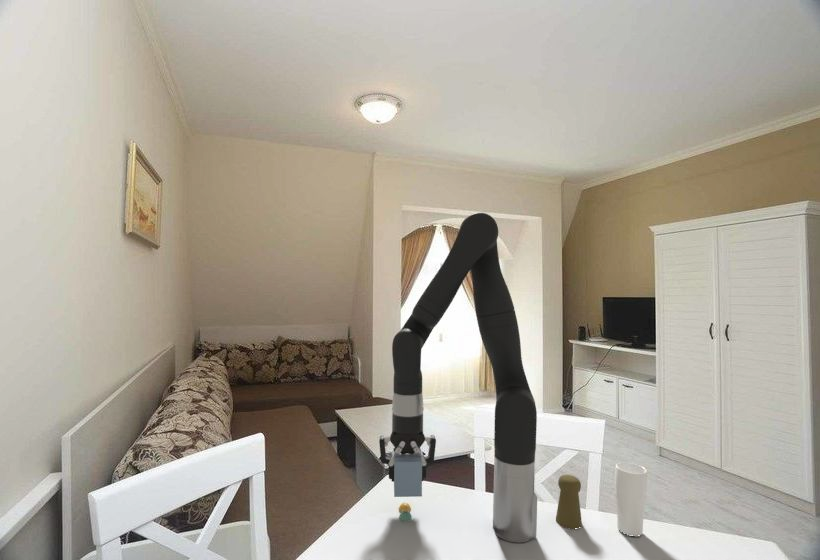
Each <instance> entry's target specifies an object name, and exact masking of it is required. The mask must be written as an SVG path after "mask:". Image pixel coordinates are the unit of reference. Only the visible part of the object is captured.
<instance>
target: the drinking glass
mask: <svg viewBox="0 0 820 560" xmlns="http://www.w3.org/2000/svg"><path fill="white" fill-rule="evenodd" d="M614 490H615V501H616V502H615V503H616V518H617V521H616V522H617V525H616V526H617V530H618V531H619V530H620V531H619V532H620V533H622V532H623V533H625V534H628V535H633V536H638V535H641V534H642V535H643V531H644V517H645V510H646V509H645V508H646V500H647V499H646V498H647V492H648V470H647V469H646V468H645V467H643V466H642V465H639V464H636V463H634V462H633V463H632V462H624V461H623V462H622V461H621V462H617V463H616V464H615V469H614ZM623 533H622V534H623ZM625 534H624V535H625ZM628 535H627V536H628ZM642 535H641V536H642Z"/></svg>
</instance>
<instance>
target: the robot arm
mask: <svg viewBox="0 0 820 560" xmlns="http://www.w3.org/2000/svg"><path fill="white" fill-rule="evenodd" d="M498 238H499V226H498V223H497V222H496V220H495V218H494V217H493V216H491V215H490V214H488V213H485V212H475V213H471V214H470V215H468V216H467V217H466V218H464V220H463V221H462V222H461V224H460V227H459V230H458V233H457V235H456V237H455V239H454V242H453V245H452V247H451V249H450V250H449V252H448V253H447V256H446V258H445V260H444V261H443V263H442V264H441V266H440V268H439V269H438V270H437V272H436V274H435V275H434V276H433V278H432V280H431V281H430V282H429V284H428V285H427V287H426V288H425V290H424V291H423V293H422V295H421V296H419V297H420V298H419V299H418V301H417V303H415V305H414V307H413V309H412V312H411V314H410V315H409V317H408V319H407V320H406V321H405V324H404V325H403V326H402V327H401V329H400V330H399V331H398V332H397V333H396V334H395V335H394V337H393V340H392V344H391V349H392V351H391V355H392V364H393V396H392V401H391V402H392V403H391V404H392V405H391V407H392V408H391V411H392V412H391V413H392V414H391V421H392V423H391V434H390V435H389V436H384V435H380V436H379V438H378V439H379V453H380V463H381V464H382V465H387V466H388V478H389V480H391V482H393V483H394V457H398V456H399V454H400V453H401V454H407V453H408V454H414V453H416V455H417V457H421V459H422V482H424V480H425V479H426V478H427V467H428V466H427V465H429V464H433V463H434V462H435V455H436V454H435V453H436V446H437V439H436V437H435V435H434V434H432V435H430V436H429V435H425V434H424V410H425V409H424V398H423V373H422V369H421V366H422V363H421V361H422V349H423V347H424V346H425V344H426V342H427V340H428V338H429V337H430V335H431V333H432V332H433V329H434V328H435V327H436V326H437V325H438V324H439V322H440V321H441V320H442V318H443V316H444V315H445V313H446V312H447V310H448V309H449V307H450V306H451V304H452V303H453V301H454V299H455V296H456V295H457V294H458V292H459V289H460V288H461V286H462V284H463V282H464V281H465V278H466V277H467V275H468V273H470V275H471V282H472V292H473V302H474V311H475V317H476V322H477V326H478V330H479V333H480V338H481V341H482V344H483V346H484V350H485V353H486V355H487V357H488V359H489V363H490V365H491V368H492V373H493V378H494V386H495V387H494V388H495V396H496V397H495V398H496V399H495V407H494V431H493V432H494V435H493V436H494V439H493V441H494V443H493V445H494V446H493V448H494V451H493V452H494V458H493V460H494V461H493V462H494V463H493V466H494V467H493V501H492V502H493V503H492V508H493V509H492V530H493V532H494V534H495V535H496V536H497V537H498V538H500V539H501V540H504V541H506V542H511V543H525V542H528V541H530V540H532V539H537V529H538V528H537V525H538V524H537V523H538V521H537V520H538V496H537V494H536V492H535V480H536V479H535V477H536V476H535V475H536V473H535V471H536V451H537V423H538V422H537V421H538V419H537V418H538V416H537V414H538V413H537V406H536V401H535V398H534V396H533V393H532V391H531V388H530V384H529V381H528V379H527V375H526V373H525V369H524V365H523V358H522V349H521V348H522V347H521V346H522V344H521V337H520V329H519V324H518V318H517V314H516V310H515V305H514V303H513V299H512V296H511V293H510V290H509V288H508V285H507V282H506V280H505V278H504V275H503V272H502V269H501V264H500V258H499V251H498V249H499V248H498ZM389 442H391V444H392V447H394V448H393V450H392V451H391V454H390V456H389V457H388V456H387V454H386V448H387V446H388V445H389ZM424 442H426V445H427V447H428V453H427V456H425V455H424V453H423V451H422V449H421V447H422V446H423V444H424Z"/></svg>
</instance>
